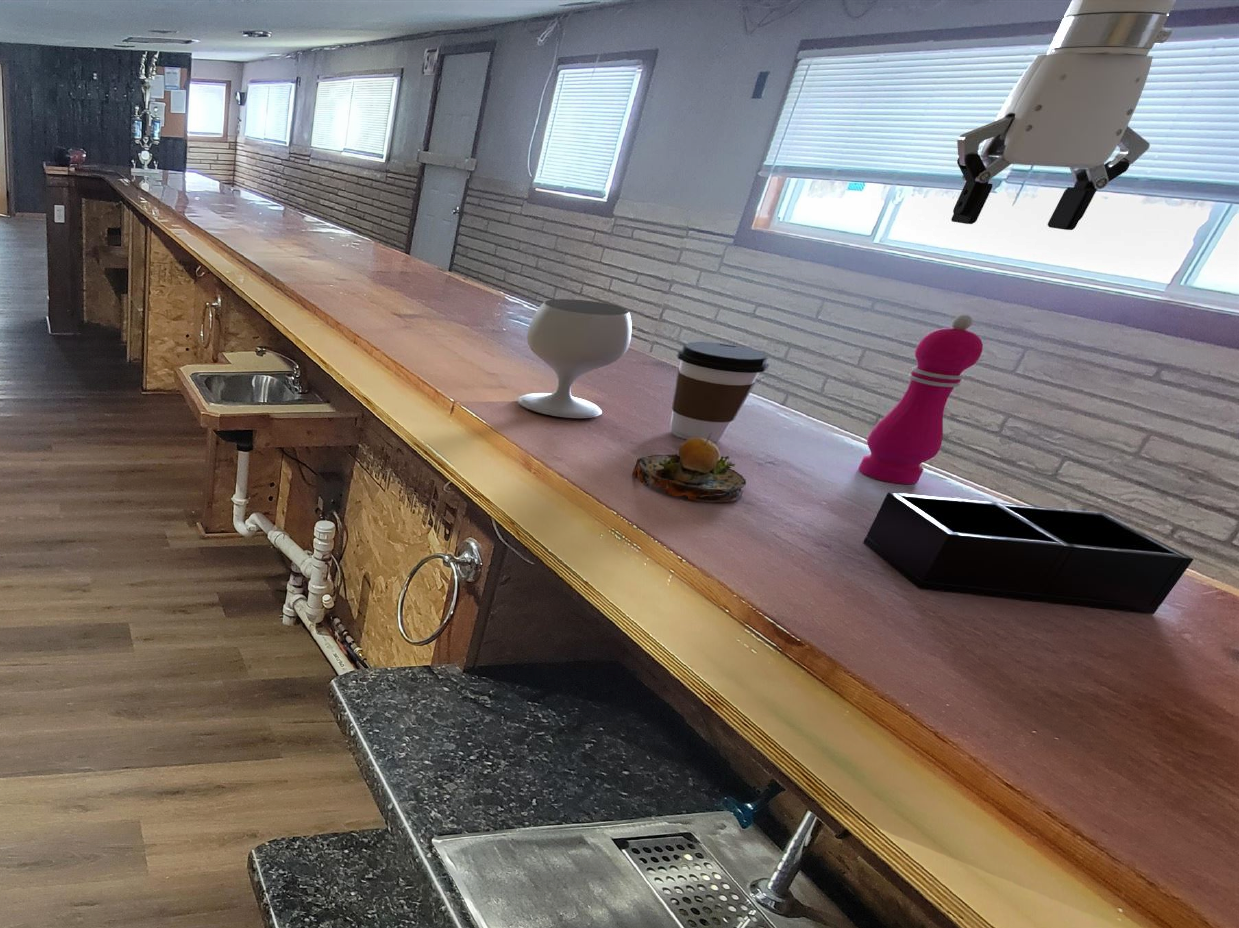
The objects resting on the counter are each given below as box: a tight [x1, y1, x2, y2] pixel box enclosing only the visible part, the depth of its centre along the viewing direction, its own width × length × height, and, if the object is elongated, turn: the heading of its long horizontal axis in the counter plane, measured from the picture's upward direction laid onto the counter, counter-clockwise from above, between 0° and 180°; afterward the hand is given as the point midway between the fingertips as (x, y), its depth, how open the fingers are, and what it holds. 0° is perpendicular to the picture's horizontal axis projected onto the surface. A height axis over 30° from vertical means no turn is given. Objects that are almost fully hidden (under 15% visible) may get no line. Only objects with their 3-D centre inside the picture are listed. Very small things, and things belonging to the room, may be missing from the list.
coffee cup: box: [670, 341, 770, 443], centre depth 115 cm, size 11×11×12 cm
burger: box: [632, 432, 747, 503], centre depth 99 cm, size 12×12×8 cm
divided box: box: [863, 491, 1194, 615], centre depth 81 cm, size 20×10×6 cm, turn 80°
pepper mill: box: [858, 314, 984, 485], centre depth 102 cm, size 7×7×20 cm
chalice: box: [517, 298, 633, 419], centre depth 123 cm, size 14×14×15 cm
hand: (1010, 225), depth 91 cm, fingers open, 9 cm apart
